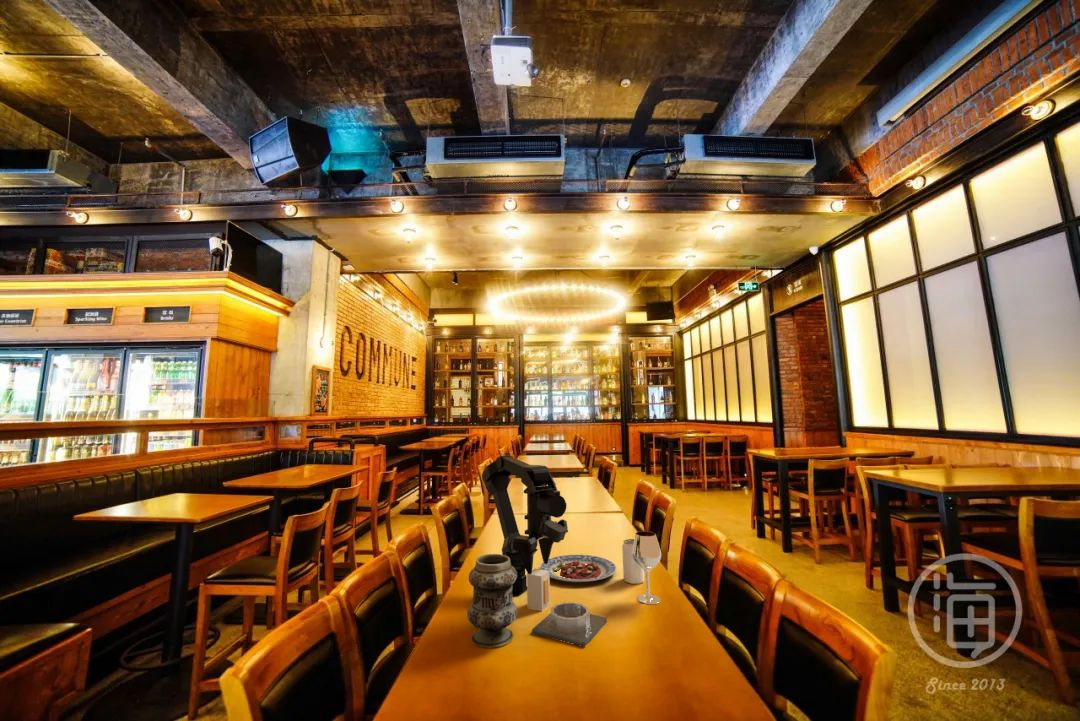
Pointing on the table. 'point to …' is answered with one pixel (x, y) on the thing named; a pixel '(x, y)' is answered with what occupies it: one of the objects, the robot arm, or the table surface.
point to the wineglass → (646, 559)
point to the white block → (538, 590)
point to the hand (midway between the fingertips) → (538, 568)
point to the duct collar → (570, 624)
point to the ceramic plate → (579, 568)
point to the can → (631, 564)
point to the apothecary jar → (492, 600)
